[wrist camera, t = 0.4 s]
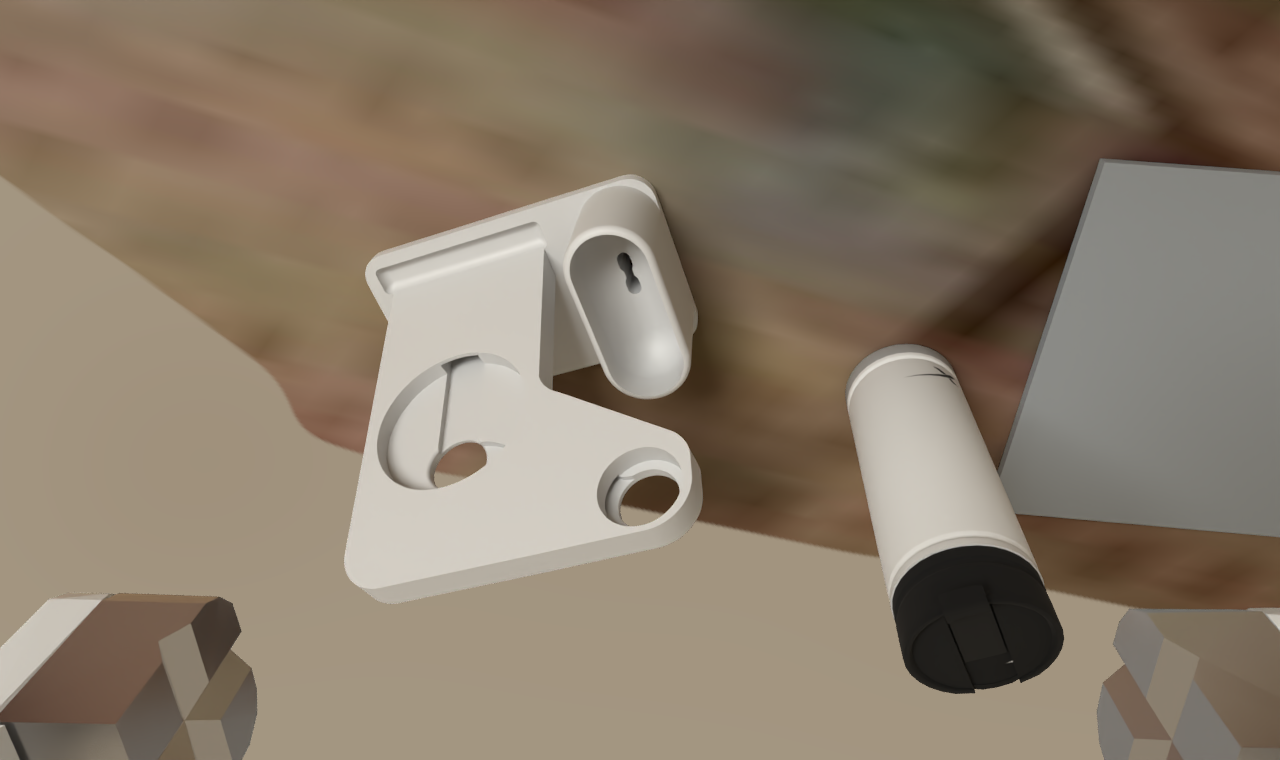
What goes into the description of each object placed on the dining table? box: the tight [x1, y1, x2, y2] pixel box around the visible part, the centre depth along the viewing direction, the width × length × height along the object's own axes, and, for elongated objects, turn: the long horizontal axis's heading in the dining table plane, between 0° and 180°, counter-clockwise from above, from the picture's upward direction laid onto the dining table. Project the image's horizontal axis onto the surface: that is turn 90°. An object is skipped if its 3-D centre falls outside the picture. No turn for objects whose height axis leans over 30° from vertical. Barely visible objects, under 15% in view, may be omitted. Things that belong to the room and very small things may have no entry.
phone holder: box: [344, 175, 703, 604], centre depth 43 cm, size 17×10×18 cm, turn 109°
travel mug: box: [845, 344, 1064, 694], centre depth 43 cm, size 6×7×20 cm
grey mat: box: [997, 158, 1280, 537], centre depth 49 cm, size 22×18×1 cm
